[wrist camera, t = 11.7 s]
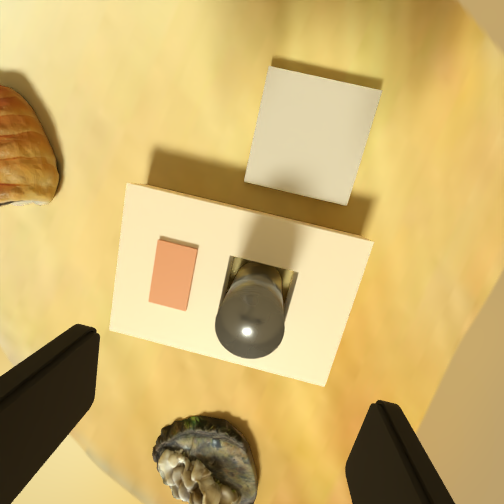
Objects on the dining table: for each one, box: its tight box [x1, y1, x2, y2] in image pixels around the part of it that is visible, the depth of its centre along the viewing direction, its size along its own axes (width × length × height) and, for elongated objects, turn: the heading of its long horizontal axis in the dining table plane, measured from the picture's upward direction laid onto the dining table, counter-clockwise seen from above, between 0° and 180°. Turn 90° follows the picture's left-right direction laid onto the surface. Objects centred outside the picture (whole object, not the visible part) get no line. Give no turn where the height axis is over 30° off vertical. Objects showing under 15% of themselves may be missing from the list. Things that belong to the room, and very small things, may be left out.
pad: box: [244, 66, 382, 206], centre depth 20 cm, size 8×8×1 cm
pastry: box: [0, 85, 59, 207], centre depth 21 cm, size 9×7×4 cm
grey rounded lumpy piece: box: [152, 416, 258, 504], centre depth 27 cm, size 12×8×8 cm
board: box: [109, 183, 374, 387], centre depth 21 cm, size 12×18×3 cm, turn 77°
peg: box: [215, 261, 285, 359], centre depth 19 cm, size 4×4×8 cm
